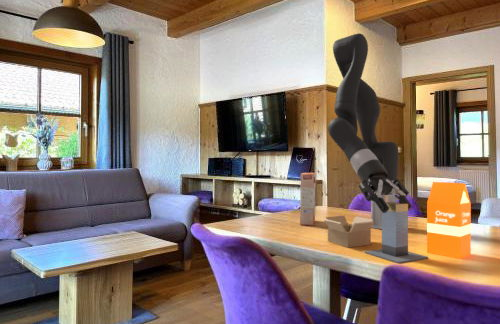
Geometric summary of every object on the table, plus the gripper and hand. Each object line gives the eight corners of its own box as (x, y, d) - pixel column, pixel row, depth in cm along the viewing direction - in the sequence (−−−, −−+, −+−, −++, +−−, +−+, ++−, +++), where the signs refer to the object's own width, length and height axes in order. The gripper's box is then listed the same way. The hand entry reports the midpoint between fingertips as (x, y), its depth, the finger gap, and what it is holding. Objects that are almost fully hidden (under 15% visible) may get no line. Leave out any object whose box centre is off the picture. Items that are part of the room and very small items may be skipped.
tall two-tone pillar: (393, 251, 106) (393, 201, 106) (408, 255, 102) (407, 203, 102) (381, 252, 104) (381, 202, 104) (395, 256, 100) (395, 204, 100)
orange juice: (438, 248, 111) (438, 181, 111) (471, 254, 104) (471, 182, 104) (426, 253, 106) (426, 182, 106) (460, 259, 99) (460, 184, 99)
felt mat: (393, 248, 111) (393, 247, 111) (428, 258, 100) (428, 256, 100) (364, 252, 106) (364, 251, 106) (398, 263, 95) (398, 261, 95)
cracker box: (314, 226, 149) (314, 173, 149) (299, 225, 150) (299, 173, 150) (315, 220, 163) (315, 172, 162) (301, 220, 164) (301, 172, 164)
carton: (350, 236, 128) (350, 214, 128) (381, 245, 115) (381, 220, 115) (318, 240, 122) (318, 217, 122) (346, 249, 109) (346, 224, 109)
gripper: (355, 158, 107) (386, 202, 97) (392, 158, 113) (424, 200, 103) (343, 176, 112) (371, 220, 101) (379, 175, 118) (408, 216, 108)
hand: (398, 210), depth 102 cm, fingers open, 8 cm apart
